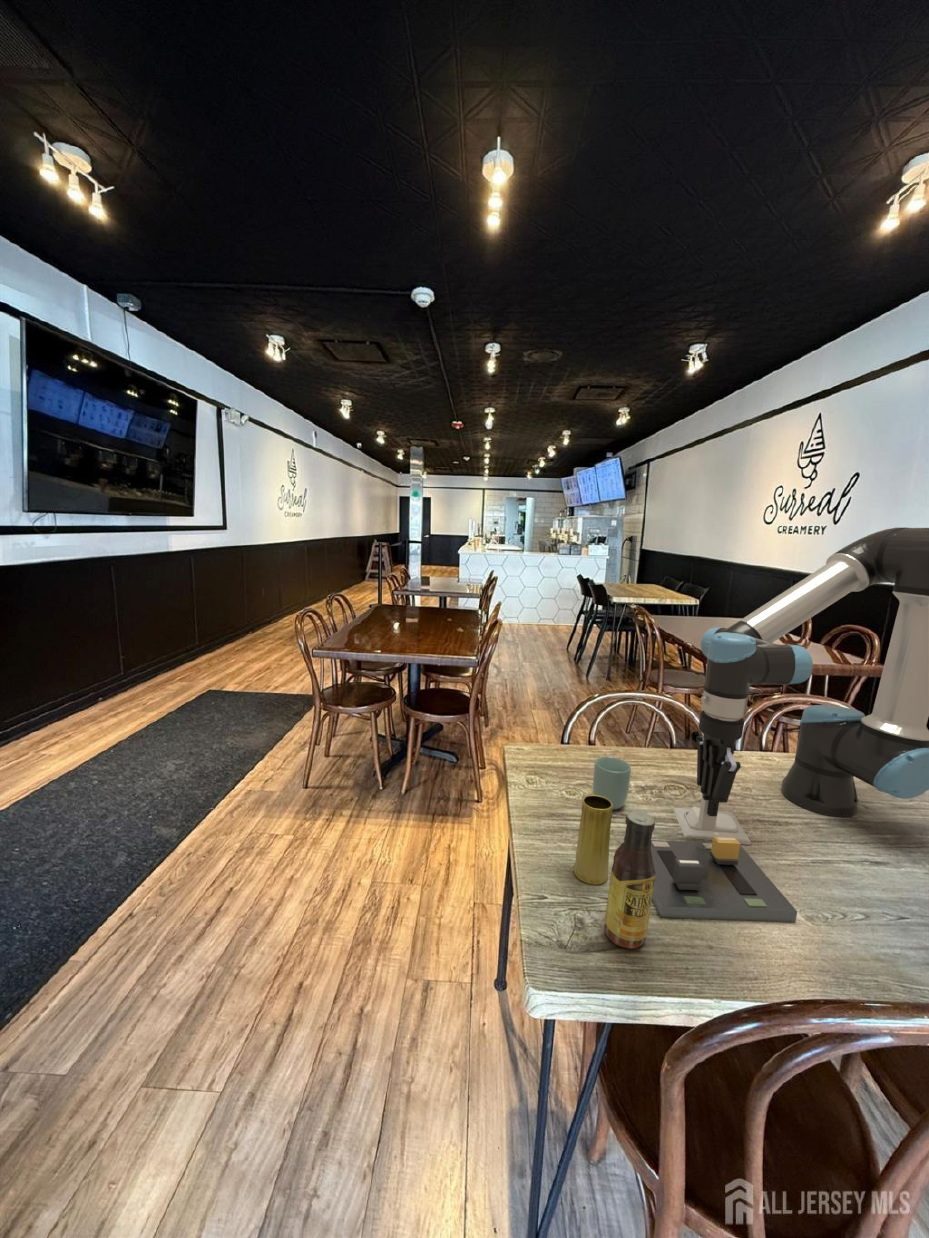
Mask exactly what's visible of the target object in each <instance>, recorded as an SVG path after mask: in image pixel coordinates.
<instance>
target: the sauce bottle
mask: <svg viewBox="0 0 929 1238" xmlns="http://www.w3.org/2000/svg"><path fill="white" fill-rule="evenodd" d="M655 821H656V820H655V818H654V817H653V815H652V816H651V815H650V814H648V813H647V812H643V811H639V810H631V811H628V812H627V813H626V817H625V825H626V826H625V827H626V828H625V833H624V834H625V835H624V838H623V842H622V843H621V844H620V845H619V846H618V847H617V848H616V850H615V852H614V856H613V862H612V867H611V872H610V876H609V879H610V880H609V887H608V892H607V899H606V900H607V901H606V909H605V916H604V922H605V923H604V931H605V934H606V936H607V938H608V939H609V940H610V941H611V942H612V943H613V944H614V945H616V946H618V947H621V948H624V949H629V950H631V949H638V948H640V947H641V946H642V945H643V944H644V942H645V940H646V937H647V933H648V928H649V922H650V915H651V906H652V903H653V901H652V895H653V888H654V881H655V869H654V864H653V859H652V854H651V840H652V836H653V832H654V830H655V826H656V822H655Z"/></svg>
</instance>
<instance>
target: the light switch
mask: <svg viewBox="0 0 929 1238" xmlns="http://www.w3.org/2000/svg"><path fill="white" fill-rule="evenodd" d="M673 812H674V815H675V818H676V820H677V822H678V824H679V827H680V830H681V832H682V834H683V836H684V838H691V839H698V840H706V841H713V836H723V837H735V838H736V839H737V840H738V841H739V843H740V845H747V846H751V845H752V844H751V840H750V838H749V837H748V835H747V834H746V832H745V830H744V828H743V827H742V825H741V824H740V822H739V821H738V819H737V818H736V816H735V814H734V813H733V812H732V811H726V810H718V813H717V820H716V827H715V830H713V829H701V828H700V827H699V825H698V821H699V814H700V807H698V806H692V807H691V808H688V807H687V808H684V807H675V808H673Z"/></svg>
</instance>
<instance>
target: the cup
mask: <svg viewBox="0 0 929 1238" xmlns="http://www.w3.org/2000/svg"><path fill="white" fill-rule="evenodd" d="M592 774H593V777H592V795H600V796H603V797H606V798H608V799H609V800H610V801H611V802H612V804H613V810H612V811H614V810H619V809H620V808H622V807H624V805H625V803H626V802H627V798H628V796H629V795H628V794H629V791H630V783H631V774H632V767H631V764H630V763H629V762H627V761H626V760H624V759H621V758H618V757H615V756H600V757H598V758H597V759H595V762H594V766H593V773H592Z"/></svg>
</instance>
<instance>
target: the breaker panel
mask: <svg viewBox="0 0 929 1238" xmlns="http://www.w3.org/2000/svg"><path fill="white" fill-rule="evenodd" d="M711 848H712V842H710V841H690V840H687V841H685V840H665V839H664V840H661V839H651V854H652V859H653V864H654V869H655V881H654V888H653V895H652V903H653V904H654V907H655V909H656V911H657V913H658V915H659V917H660V918H670V919H671V918H672V919H674V918H675V919H676V918H677V919H693V920H694V919H695V920H699V919H700V920H702V919H703V920H724V921H725V920H726V921H729V920H730V921H746V922H747V921H748V922H750V921H751V922H752V921H753V922H754V921H755V922H777V923H797V922H796V921H797V916H798V911H797V909H796V908H795V907H794V906H793V904H792V903H791V902H790V901H789V900H788V899H787V898H786V897H785V895H783V893H782V892H781V891H780V889H779V888H778V887H777V886H776V885H775V884H774V883H773V881H772V880H771V879H770V878H769V876H767V875H766V873H765V872H764V871H763V870H762V868H760V866H759V865H758V864H757V863H756V862H755V860H753V858H752V857H751V856H750V855H749V854H748V852H747V851H746V850H745V849H744V848H743V847H742V844H740V849H739V855H738V859H737V860H738V865H724V864H717V862H716V861H715V860H714V858H713V857H712V856H711V854H710V852H711ZM675 859H698V860H699V861H700V863H701V864H702V866H703V874H702V881H701V884H700V885H701V890H681V889H679V888H678V886H677V885H676V883H675V881H674V880H673V878H672V875H673V869H674V861H675Z"/></svg>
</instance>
